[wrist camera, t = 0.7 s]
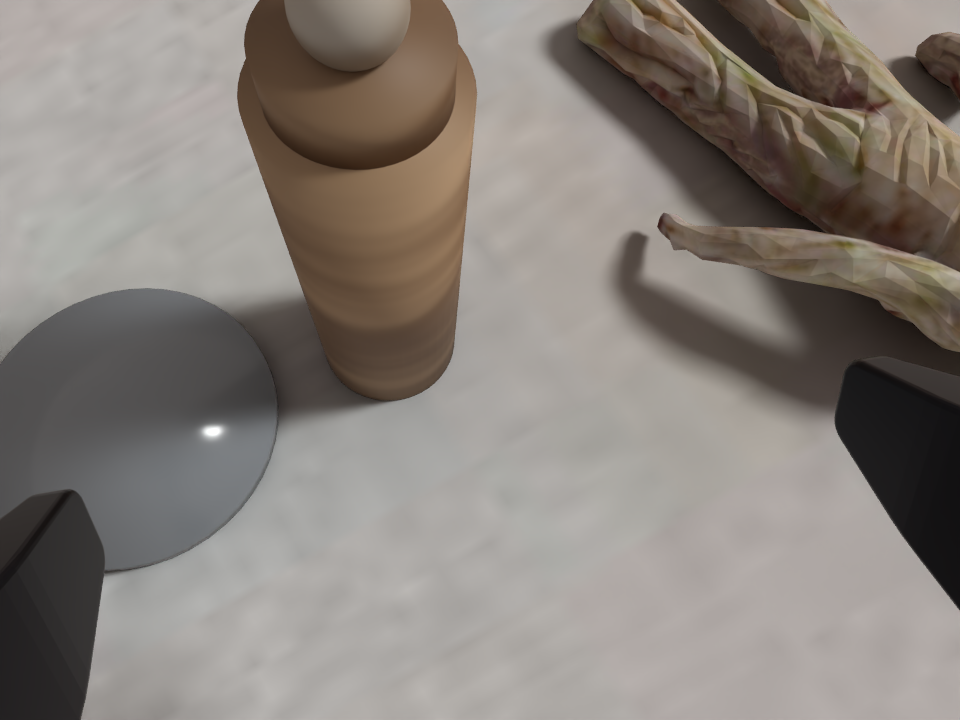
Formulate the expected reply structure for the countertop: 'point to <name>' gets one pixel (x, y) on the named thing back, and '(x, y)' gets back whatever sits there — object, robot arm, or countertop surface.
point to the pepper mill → (366, 175)
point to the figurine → (811, 148)
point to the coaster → (139, 419)
